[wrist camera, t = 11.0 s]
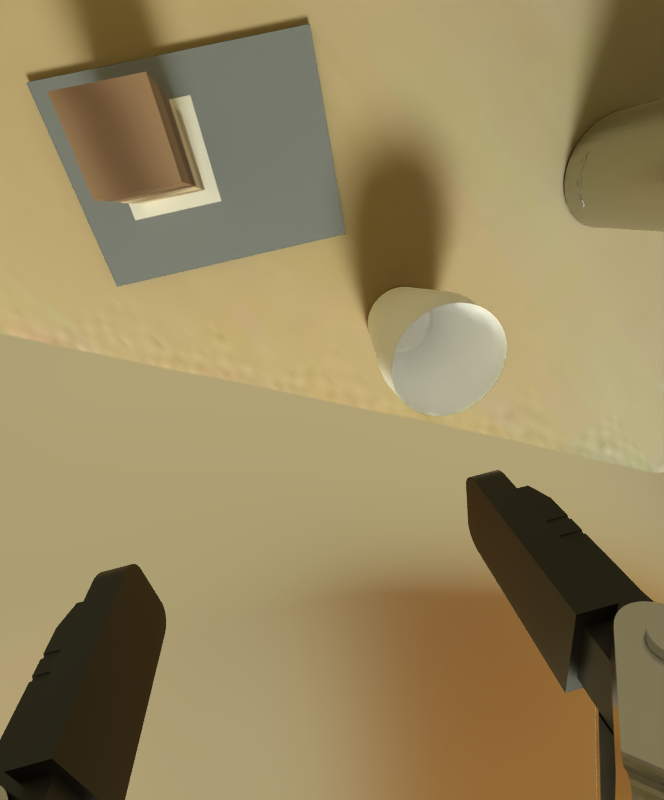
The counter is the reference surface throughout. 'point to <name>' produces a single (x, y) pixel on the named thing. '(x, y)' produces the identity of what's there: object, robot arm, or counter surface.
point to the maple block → (192, 164)
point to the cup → (436, 348)
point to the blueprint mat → (221, 157)
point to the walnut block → (123, 137)
